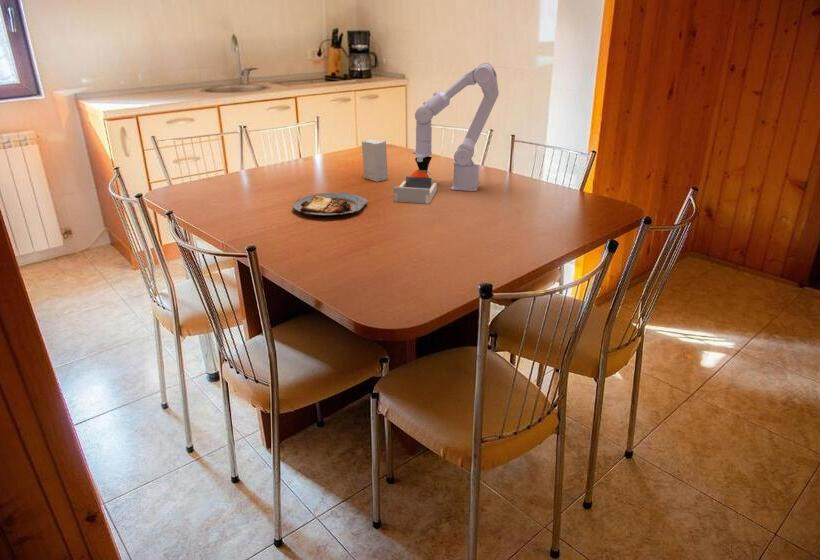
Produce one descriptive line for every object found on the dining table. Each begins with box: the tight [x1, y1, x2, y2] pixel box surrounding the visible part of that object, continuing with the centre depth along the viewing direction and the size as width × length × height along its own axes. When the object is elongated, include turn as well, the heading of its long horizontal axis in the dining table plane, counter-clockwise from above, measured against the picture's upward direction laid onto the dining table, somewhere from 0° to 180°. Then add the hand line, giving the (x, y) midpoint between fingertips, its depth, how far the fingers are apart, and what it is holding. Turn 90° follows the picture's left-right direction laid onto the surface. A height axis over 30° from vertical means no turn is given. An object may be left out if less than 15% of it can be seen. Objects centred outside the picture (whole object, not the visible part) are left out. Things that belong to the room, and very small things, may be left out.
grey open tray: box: [393, 180, 438, 205], centre depth 208 cm, size 12×16×5 cm
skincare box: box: [361, 138, 389, 182], centre depth 227 cm, size 8×6×15 cm
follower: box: [405, 175, 433, 189], centre depth 212 cm, size 9×1×5 cm, turn 78°
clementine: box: [410, 169, 432, 178], centre depth 216 cm, size 8×7×7 cm
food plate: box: [291, 192, 368, 217], centre depth 195 cm, size 25×23×4 cm
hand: (423, 176), depth 220 cm, fingers closed
